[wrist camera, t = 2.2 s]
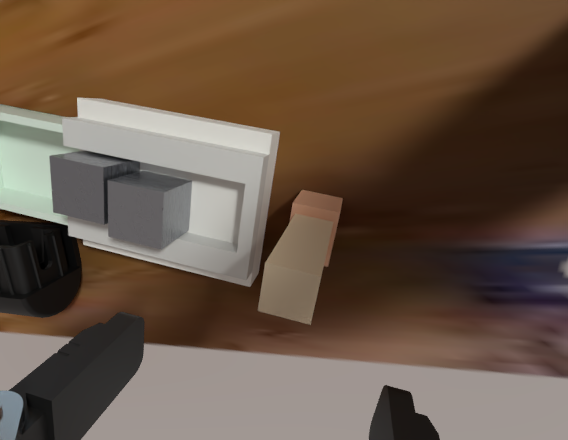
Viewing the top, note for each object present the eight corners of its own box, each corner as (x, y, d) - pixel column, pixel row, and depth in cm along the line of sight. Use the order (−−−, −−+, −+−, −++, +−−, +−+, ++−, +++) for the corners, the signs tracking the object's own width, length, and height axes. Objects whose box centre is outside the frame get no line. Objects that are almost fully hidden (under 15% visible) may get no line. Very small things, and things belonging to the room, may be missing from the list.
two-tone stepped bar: (342, 198, 26) (331, 264, 15) (332, 245, 27) (313, 338, 16) (302, 189, 27) (261, 247, 15) (293, 236, 28) (249, 321, 17)
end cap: (10, 283, 36) (-64, 319, 30) (-9, 219, 34) (-92, 243, 28) (92, 291, 34) (32, 333, 28) (78, 224, 32) (10, 252, 26)
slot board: (280, 131, 26) (266, 135, 22) (258, 273, 30) (244, 296, 26) (100, 98, 28) (60, 96, 24) (103, 234, 32) (69, 251, 28)
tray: (101, 124, 28) (67, 125, 25) (103, 214, 31) (73, 226, 28) (-7, 102, 30) (-51, 102, 27) (4, 190, 32) (-36, 200, 29)
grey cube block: (192, 180, 25) (163, 192, 22) (188, 230, 27) (161, 249, 23) (143, 170, 26) (107, 180, 22) (142, 219, 27) (108, 236, 24)
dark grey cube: (140, 159, 26) (103, 167, 22) (139, 209, 27) (104, 224, 23) (93, 149, 26) (49, 155, 23) (94, 198, 28) (53, 212, 24)
